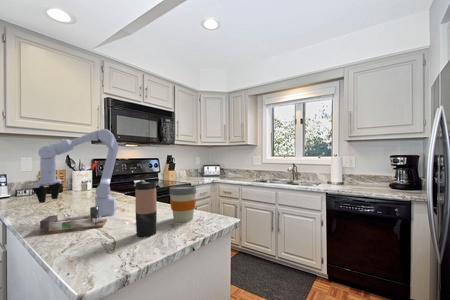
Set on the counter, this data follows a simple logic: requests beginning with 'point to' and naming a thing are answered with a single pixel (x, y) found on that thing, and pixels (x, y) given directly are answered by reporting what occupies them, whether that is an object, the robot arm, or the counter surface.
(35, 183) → the robot arm
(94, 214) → the gauge slider
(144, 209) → the travel mug
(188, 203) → the reusable coffee cup
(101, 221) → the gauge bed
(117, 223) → the counter surface
